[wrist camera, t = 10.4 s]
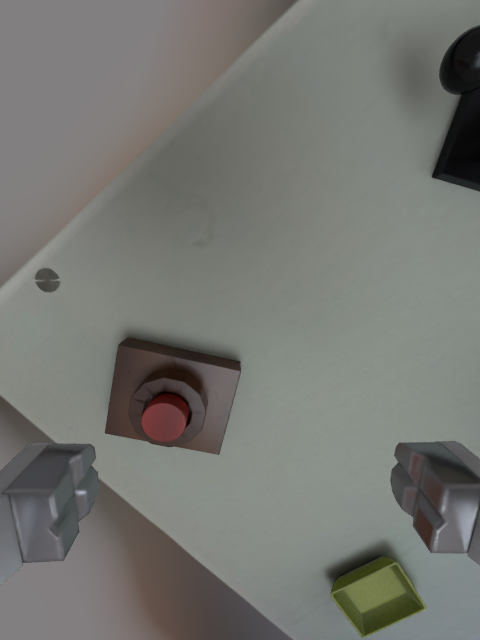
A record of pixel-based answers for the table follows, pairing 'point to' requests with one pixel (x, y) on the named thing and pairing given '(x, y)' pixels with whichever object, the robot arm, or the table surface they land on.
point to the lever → (462, 64)
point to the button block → (177, 378)
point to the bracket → (462, 145)
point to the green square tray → (376, 596)
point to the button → (165, 417)
